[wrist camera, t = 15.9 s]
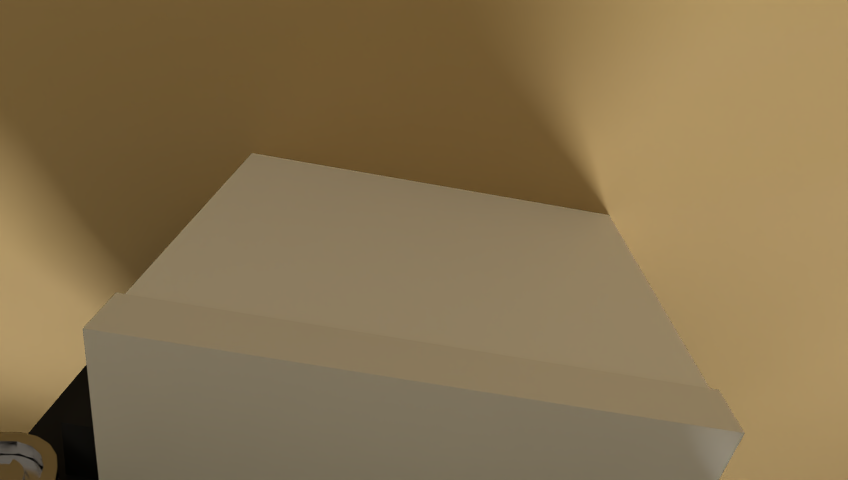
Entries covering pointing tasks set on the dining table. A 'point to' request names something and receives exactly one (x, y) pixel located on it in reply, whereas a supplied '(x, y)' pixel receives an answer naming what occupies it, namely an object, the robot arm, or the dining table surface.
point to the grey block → (395, 343)
